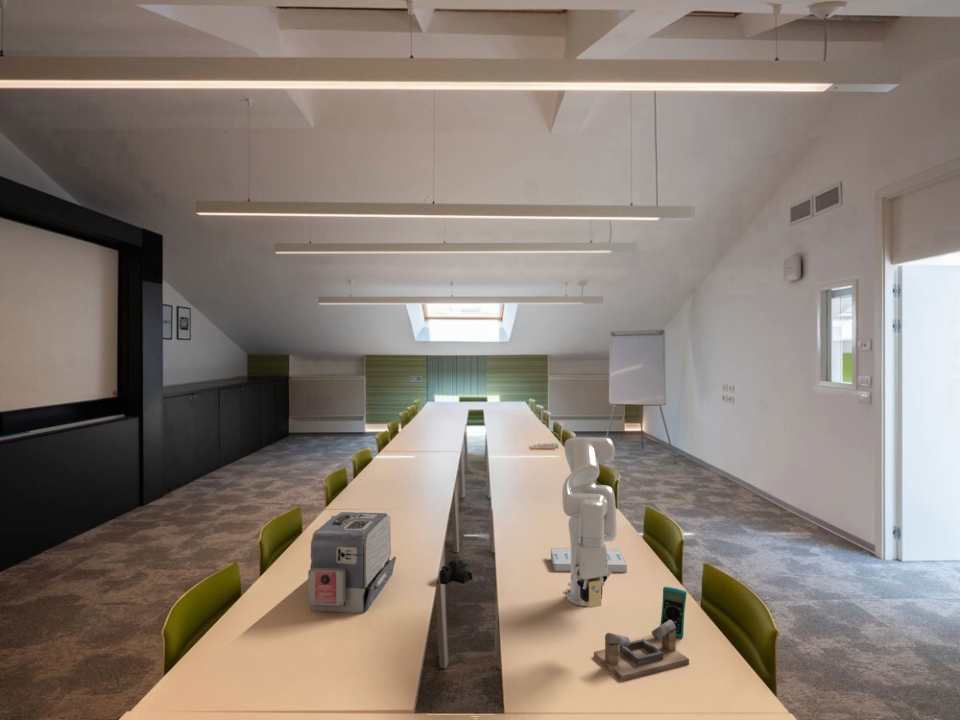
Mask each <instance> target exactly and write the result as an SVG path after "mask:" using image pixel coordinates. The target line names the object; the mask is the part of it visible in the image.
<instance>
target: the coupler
mask: <svg viewBox="0 0 960 720" xmlns="http://www.w3.org/2000/svg"><path fill="white" fill-rule="evenodd" d="M586 589H588V602H585V601H583V600H582V599H581V602H582V603H583V604H584V605H586V606H585V607H587V608H588V609H592V608H597V607H601V606H602V599H601V579H599V578H592V579H588V582H587V587H586Z"/></svg>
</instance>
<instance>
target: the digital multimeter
mask: <svg viewBox="0 0 960 720" xmlns="http://www.w3.org/2000/svg"><path fill="white" fill-rule="evenodd" d="M687 594H688V593H687V591H686V590H684V589H680V588H676V587H671V586H663V588H662V602H661V603H662V606H661V615H660V616H661V617H660V625H659V626H661V625H662V624H664V623H665V622H667V621H668V620H672V621H673V622H674V624H675V626H676V628H675V629H673V630H674V631H675V632H676V638H683V637H684V627H685V626H684V624H685V611H686V602H687Z"/></svg>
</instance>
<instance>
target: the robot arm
mask: <svg viewBox="0 0 960 720" xmlns="http://www.w3.org/2000/svg"><path fill="white" fill-rule="evenodd" d="M615 452H616V449H615V445H614V442H613V440H612V439H611V438H610V437H591V436H590V437H587V436H586V437H585V436H584V437H579V436H578V437H571V438H568V439H566V440H565V443H564V454H565V459H566V462H567V464H568V466H569V469H570V474H569V475H568V476H567V478H566V479H565V481H564V483H563V485H562V490H561V491H562V496H561V497H562V510H563V513H564V514H565V515H566V516H568V517H569V519H568V522H567V523H568V525H567V526H568V533H569V543H570V548H571V571H570V582H568V583H567V586H568V587H569V589H570V590H569V592H567V593H566V600H567V601H568V602H570V603H571V604H573V605H575V606H580V607H587V606H586V605H584V604H583V603H582V602H581V599H582V600H583V601H585V602H588V589H586V587H587V582H588V579H592V578H599V579H601V600H602V599H603V587H604V586H605V583H606V581H607V580H608V578H609V577H610V576H611V575H612V574H613V572H611V571H610V569H609V568H608V559H607V551H606V549H607V547H606V546H607V545H606V543H605V542H612V541H614V540H616V537H617V531H618V530H617V511H616V508H617V507H616V496H615V492H614V489H613V487H612V486H609V485H605V484H595V480H597V479H598V478H599V476H600V474H601V473H600V465H599V464H600V463H599V462H613V460H614V458H615V455H616V453H615Z"/></svg>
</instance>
